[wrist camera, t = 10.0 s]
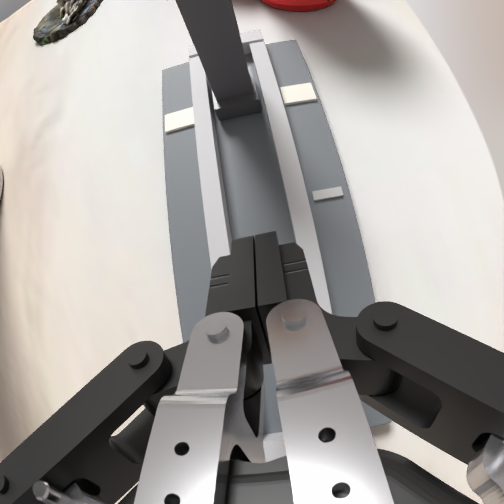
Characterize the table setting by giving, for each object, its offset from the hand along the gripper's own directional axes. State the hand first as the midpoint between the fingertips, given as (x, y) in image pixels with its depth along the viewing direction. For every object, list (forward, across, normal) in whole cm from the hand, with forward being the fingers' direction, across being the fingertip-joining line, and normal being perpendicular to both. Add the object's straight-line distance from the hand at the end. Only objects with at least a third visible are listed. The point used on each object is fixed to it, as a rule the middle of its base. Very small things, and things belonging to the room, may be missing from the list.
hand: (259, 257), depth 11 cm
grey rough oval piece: (+32, +19, -22) cm, 43 cm away
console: (+7, 0, +2) cm, 7 cm away
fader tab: (+12, 0, -4) cm, 12 cm away
